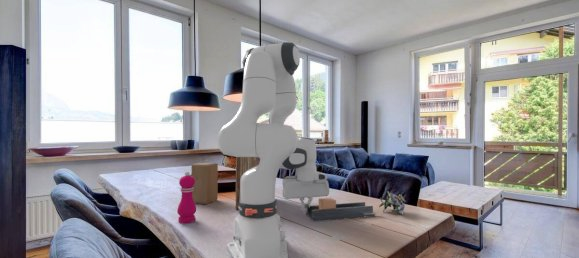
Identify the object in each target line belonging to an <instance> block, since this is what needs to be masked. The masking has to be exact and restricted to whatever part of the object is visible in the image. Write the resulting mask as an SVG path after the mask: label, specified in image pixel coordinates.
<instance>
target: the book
mask: <svg viewBox="0 0 579 258" xmlns="http://www.w3.org/2000/svg"><path fill="white" fill-rule="evenodd" d="M259 163H260V158H258V157H235V211H237V210H239V208H238V206H239V201H240V180H241V177H242V175H243V174H244V173H245V172H246V171H248V170H249V169H251V168H253V167H256V166H257V165H259Z"/></svg>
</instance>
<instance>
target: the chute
mask: <svg viewBox="0 0 579 258" xmlns="http://www.w3.org/2000/svg"><path fill="white" fill-rule="evenodd" d="M375 214H376V213H375V212H374V205H366V202H365V201H360V202H347V203H344V202H343V203H336V208H333V209H319V204H315V205H310V208H306V212H305V215H306V216H308V218H310V220H311V221H313V222H322V221H323V222H324V221H333V220H334V221H336V219H337V220H345V219H344V218H349V219H355V218H354V217H360V218H365V217H364V216H372V217H375V216H374V215H375Z"/></svg>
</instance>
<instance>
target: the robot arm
mask: <svg viewBox="0 0 579 258" xmlns="http://www.w3.org/2000/svg"><path fill="white" fill-rule="evenodd" d="M300 55H301V54H300V51H299V48H298V46H297V45H296V44H295V43H293V42H290V41H289V42H288V41H286V42H285V41H284V42H282V43H272V44H264V45H260V46H258V47H257V46H256V47H255V48H254V47H252V48H250V49H247V50H246V51H245V52H244V53H243V55H242V61H241V62H242V63H241V64H242V68H243V79H242V91H241V92H242V93H241V94H242V95H241V102H240V106H239V108H238V110H237V112H236V114H235V115H234V116H233V117H232V119H231V120H230V121H229V122H228V123H226V124H224V125H223V126H222V127H221V129H220V130H219V132H218V134H217V138H216V139H217V140H216V141H217V146H218V149H219V150H220V152H221V153H222V154H223V155H226V156H230V157H235V158H236V157H258V158H260V163H259V165H257V166H256V167H253V168H251V169H249V170H248V171H246V172H245V173H244V174H243V175H242V177H241V180H240V201H239V206H238V208H239V209H238V215H237V216H236V217H235V218H234V220H233V241H230V242H228V243H227V245H226V248H227V249H228V252H229V254H230V255H231V258H289V255H288V247H287V246H288V244H287V238H286V230H281V229H282V228H283V223H282V222H280V217H281V216H280V215H279V214H278V213H277V200H276V198H275V197H276V183H277V182H276V180H277V175H278V173H279V169H284V170H295V175H290V176H289V175H287V176H285V177H284V178H283V179H282V186H283V187H282V197H283V198H284V199H285V200H295V199H299V201H300V202H301V205H302V206H301V208H302V209H307V208H310V206H311V203H312V201H313V198H317V197H318V198H320V197H328V196H329V194H330V186H329V185H330V184H329V181H328V180H327V179H328V175H327V174H326V173H324V172H321V171H319V170H318V171H317V165H316V163H317V162H316V161H317V146H316V142H315V140H314V139H312V138H311V137H309V138H308V137H304V136H298V133H297V131H296V129H295V128H294V127H293V126H292V125H288V124H285V122H286V120H287V119H288V118H289V116H290V115H292V114H293V113H294V112H295V110H296V108H297V94H296V93H297V92H296V86H295V85H296V84H295V80H294V77H293V76H294V74H295V72H296V71H297V69H298V67H299V66H300V60H301V59H300V58H301V56H300ZM267 113H269V114H268V115H269V116H268V123H267V122H264V123H263V122H261V123H259V122H258V120H259V119H260V117H262V116H263V115H265V114H267ZM305 198H307V199H308V200H307V202H304V201H305ZM280 228H281V229H280Z"/></svg>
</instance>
